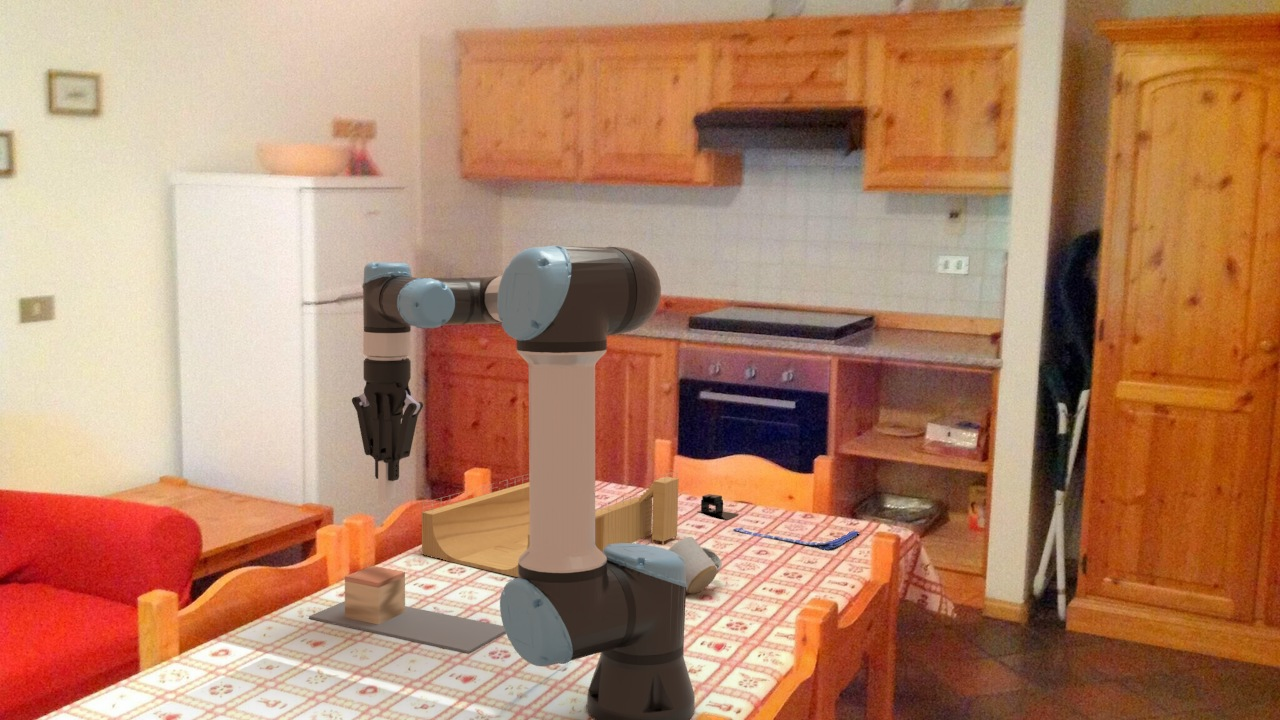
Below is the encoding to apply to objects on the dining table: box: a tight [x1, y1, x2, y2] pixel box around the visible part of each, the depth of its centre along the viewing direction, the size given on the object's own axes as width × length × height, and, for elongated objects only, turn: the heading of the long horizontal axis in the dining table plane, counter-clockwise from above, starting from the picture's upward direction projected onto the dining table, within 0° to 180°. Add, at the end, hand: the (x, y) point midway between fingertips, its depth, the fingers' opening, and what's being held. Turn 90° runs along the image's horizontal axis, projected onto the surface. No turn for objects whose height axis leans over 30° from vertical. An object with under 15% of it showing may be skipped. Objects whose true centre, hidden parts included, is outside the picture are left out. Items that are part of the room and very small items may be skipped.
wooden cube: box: [344, 565, 406, 625], centre depth 191 cm, size 7×7×7 cm
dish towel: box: [732, 527, 860, 551], centre depth 249 cm, size 17×24×3 cm
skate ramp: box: [421, 468, 680, 578], centre depth 233 cm, size 40×35×16 cm
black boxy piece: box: [697, 493, 740, 521], centre depth 263 cm, size 12×7×5 cm, turn 54°
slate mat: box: [308, 600, 506, 654], centre depth 189 cm, size 12×32×1 cm, turn 64°
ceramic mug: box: [668, 536, 723, 595], centre depth 210 cm, size 11×8×8 cm
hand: (387, 498), depth 188 cm, fingers closed
